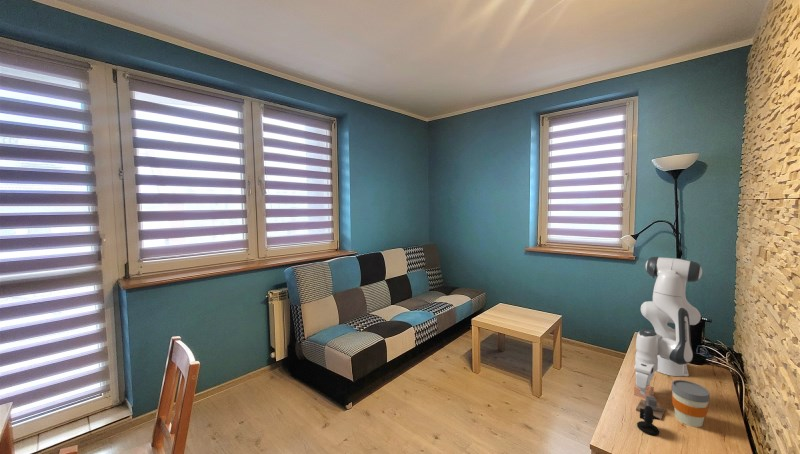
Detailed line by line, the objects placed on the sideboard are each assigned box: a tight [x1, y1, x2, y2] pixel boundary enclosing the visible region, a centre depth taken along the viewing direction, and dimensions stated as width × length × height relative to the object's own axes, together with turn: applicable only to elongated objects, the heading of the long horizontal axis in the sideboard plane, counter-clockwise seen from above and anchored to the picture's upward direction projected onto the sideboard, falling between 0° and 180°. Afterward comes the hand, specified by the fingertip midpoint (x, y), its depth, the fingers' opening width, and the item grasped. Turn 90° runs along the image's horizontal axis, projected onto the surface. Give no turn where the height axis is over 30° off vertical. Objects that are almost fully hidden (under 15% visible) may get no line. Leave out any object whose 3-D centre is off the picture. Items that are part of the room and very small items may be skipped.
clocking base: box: [635, 395, 666, 421], centre depth 146 cm, size 10×9×6 cm
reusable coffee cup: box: [670, 379, 711, 428], centre depth 139 cm, size 13×13×15 cm
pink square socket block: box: [633, 384, 655, 400], centre depth 157 cm, size 7×7×4 cm
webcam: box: [636, 406, 661, 436], centre depth 134 cm, size 8×8×10 cm
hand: (645, 390), depth 157 cm, fingers open, 8 cm apart
